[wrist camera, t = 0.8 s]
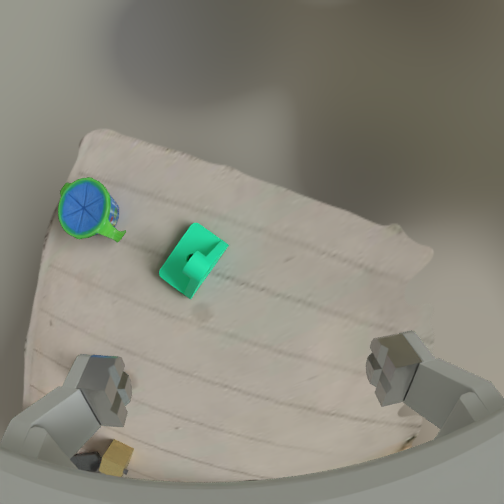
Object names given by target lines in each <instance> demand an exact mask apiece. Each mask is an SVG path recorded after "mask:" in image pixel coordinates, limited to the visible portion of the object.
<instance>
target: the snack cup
mask: <svg viewBox="0 0 504 504" xmlns="http://www.w3.org/2000/svg"><path fill="white" fill-rule="evenodd" d="M60 194H61V198H60V201H59V206H58V217H59V221H60V224H61V226H62V228H63V229H64V230H65V231H66V232H67V233H68V234H69V235H71V236H73V237H75V238H77V239H82V238H89V237H91V236H94V235H98V234H101V235H104V236H106V237H108V238H111V239H113V240H115V241H116V242H119V241H120V240H121V239H122V237H123V236H124V234H125V233H126V230H125V231H121V232H120V231H118V230H117V229H116V228H115V225H116V223H117V220H118V218H119V207H118V205H117V203H116V202H115V201H114V199H113V198H112V197H111V196H110V194H109V193H108V191H107V189H106V188H105V187H104V185H103V184H101V183H100V182H99V181H97V180H94V179H93V178H89V177H87V178H81V179H78V180H76V181H74V182H73V183H66V184H65V185H64V186H63V188H62V189H61V191H60Z"/></svg>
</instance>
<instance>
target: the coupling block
mask: <svg viewBox="0 0 504 504" xmlns="http://www.w3.org/2000/svg"><path fill="white" fill-rule="evenodd" d="M133 450H134V448H131V447H129V446H127V445H125V444H123V443H121V442H119V441H117V440H115V439H114V440H113V442H112V443H111V445H110V446H109V448H108V449H107V451H106V452H105V454H104V455H103V457H100V458H99V461H100V462H101V464H100V468H99V471H100V472H102V473H104V474H106V475H112V476H119V477H122V476H123V474H127V472H128V470H127V469H126V468H127V466H128V464H129V462H130V459H131V456H132V453H133Z"/></svg>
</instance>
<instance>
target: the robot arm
mask: <svg viewBox="0 0 504 504" xmlns="http://www.w3.org/2000/svg"><path fill="white" fill-rule="evenodd" d="M370 349H371V351H372V353H371V354H370V355H369V356H368V358H367V362H366V374H367V378H368V380H369V382H370V384H372V385H374V386H375V387H376V390H375V394H376V396H377V398H378V400H379V402H380V404H381V407H383V406H387V405H391V404H396V403H400V402H403V403H405V404H406V405H407V406H409V407H411V409H413V410H414V411H416V412H417V413H418V414H420V415H421V416H423V417H424V418H426V419H427V420H428V421H430V422H431V423H433V424H434V425H435V426H437V427H438V428H440V431H439V432H438V434H437V436H436V437H435V438H434V440H432V441H429V442H426V443H424V444H421V445H418V446H415V447H413V448H410V449H407V450H404V451H401V452H398V453H394V454H391V455H388V456H385V457H381V458H378V459H374V460H370V461H367V462H363V463H359V464H355V465H351V466H346V467H342V468H337V469H333V470H328V471H322V472H317V473H311V474H305V475H298V476H291V477H284V478H275V479H266V480H254V481H239V482H170V481H155V480H144V479H134V478H126V477H119V476H112V475H106V474H100V473H94V472H89V471H84V470H79V469H78V468H77V467H76V466H75V465H74V464H73V463H72V462H71V460H70V459H71V458H72V457H73V455H74V454H75V453H76V452H77V451H78V450H79V449H80V448H81V447H82V446H83V445H84V444H85V443H86V442H87V441H88V440H89V439H90V438H91V437H92V436H93V435H94V434H95V432H96V431H97V430H98V429H99V428H100V427H101V426H113V427H124V424H125V420H126V416H127V410H126V407H125V406H126V405H127V404H128V403H129V402H130V401H131V396H132V385H131V380H130V378H129V375H128V374H126V373H125V372H124V371H123V370H124V367H125V364H124V362H123V360H122V358H121V357H118V356H101V355H84V354H80V355H78V356H77V358H76V360H75V362H74V364H73V366H72V368H71V370H70V372H69V374H68V376H67V378H66V380H65V382H64V384H63V386H62V387H59V386H58V387H57V388H56V389H54V390H53V391H51V392H50V393H48V394H47V395H45V396H44V397H43V398H41V399H40V400H38V401H37V402H35V403H34V404H32V405H31V406H30V407H28V408H27V409H25V410H24V411H22V412H21V413H19V414H18V415H17V416H15V417H14V418H12V419H11V421H10V423H9V425H8V427H7V429H6V431H5V434H4V435H3V438H2V440H1V442H0V504H504V398H503V397H502V395H501V394H500V393H499V392H498V390H497V389H496V388H495V386H494V385H493V384H492V382H491V381H488V380H486V379H484V378H481V377H479V376H477V375H475V374H473V373H470V372H468V371H466V370H464V369H462V368H460V367H458V366H455V365H453V364H451V363H449V362H447V361H444V360H442V359H440V358H437V359H435V357H434V356H433V355H432V353H431V352H430V351H429V349H428V348H427V347H426V346H425V344H424V343H423V342H422V340H421V339H420V338H419V337H418V335H417V334H416V333H415V332H414V331H407V332H403V333H399V334H394V335H389V336H383V337H378V338H373V340H372V342H371V345H370ZM100 425H101V426H100Z"/></svg>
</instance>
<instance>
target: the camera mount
mask: <svg viewBox="0 0 504 504" xmlns="http://www.w3.org/2000/svg"><path fill="white" fill-rule="evenodd" d="M228 246H229V245H228V244H227V243H225V242H224V241H223V240H221V239H220V238H218V237H217V236H216V235H214V234H213V233H211V232H210V231H209V230H207V229H206V228H204V227H203V226H202V225H200V224H199V223H193V224H192V225H191V226H190V227H189V229H188V230H187V231H186V233H185V234H184V236H183V237H182V239H181V240H180V241H179V243H178V244H177V246H176V247H175V249H174V250H173V251H172V253H171V254H170V256H169V257H168V259H167V260H166V262H165V263H164V264H163V266H162V267H161V269H160V271H159V275H160V277H161V278H162V279H164V280H165V281H166V282H168V283H169V284H170V285H172V286H173V287H174V288H176V289H177V290H178V291H180V292H181V293H182V294H184V295H185V296H187V297H188V298H189V299H191V298H192V297H193V295H194V294H195V293H196V291H197V290H198V288H199V287H200V285H201V284H202V283H203V282H204V280H205V279H206V277H207V276H208V274H209V273H210V272H211V270H212V269H213V267H214V266H215V265H216V263H217V262H218V260H219V258H220V257H221V256H222V254H223V253H224V251H225V250H226V249H227V247H228ZM192 254H193V256H192V257H191V258H190V260H189V261H188V258H189V256H190V255H192Z"/></svg>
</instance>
